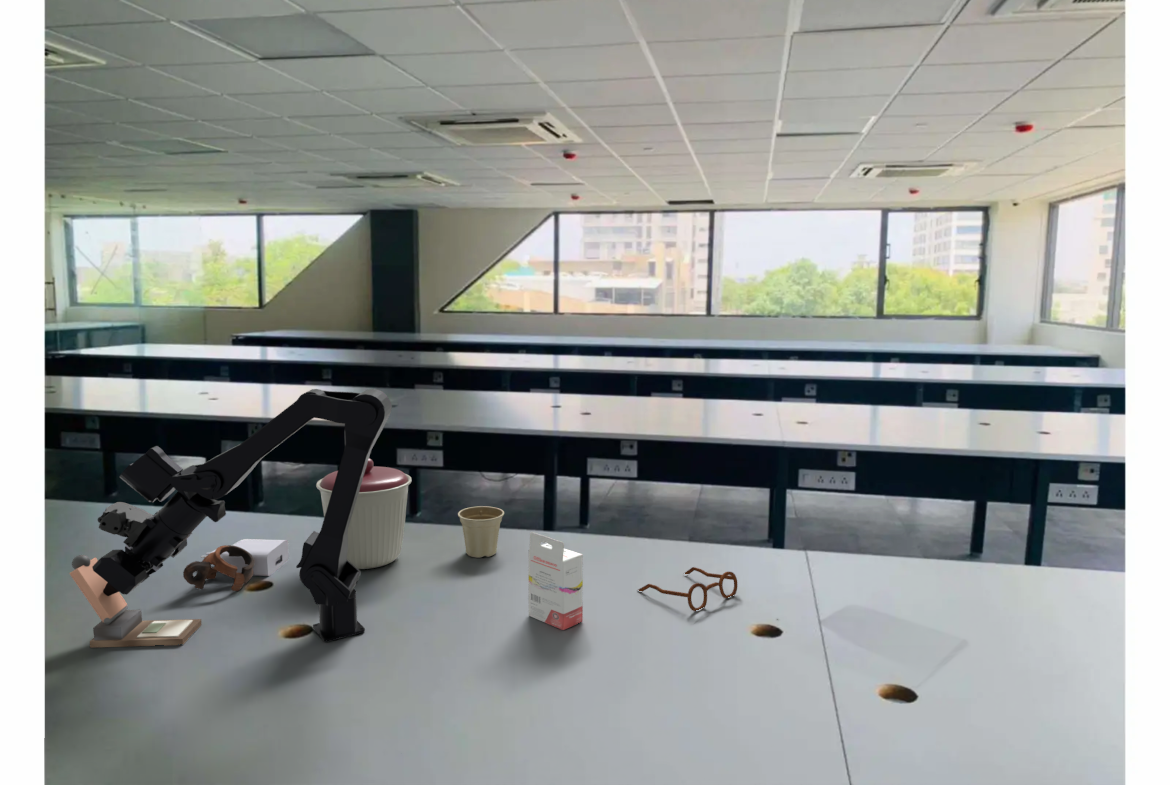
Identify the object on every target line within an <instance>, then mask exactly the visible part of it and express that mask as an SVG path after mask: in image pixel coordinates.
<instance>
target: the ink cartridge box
mask: <svg viewBox="0 0 1170 785" xmlns="http://www.w3.org/2000/svg"><path fill="white" fill-rule="evenodd" d="M541 543H543V544H541ZM528 547H529V548H528V616H529V617H531V618H534V619H536V620H538V621H540V622H543V623H545V624H547V625H549V626H552V627H554V628H557V629H559V630H561V631H565V630H567V629H569V628H572V627H574V626H575V625H578V623H579V624H580V622H581V623H583V622H584V621H583V618H584V617H583V607H584V606H583V605H584V604H583V603H584V601H583V595H584V592H583V588H584V587H583V586H584V585H583V584H584V583H583V582H584V577H583V575H584V574H583V573H584V571H583V570H584V568H583V567H584V566H583V565H584V562H583V561H584V559H583V558H584V554H583V553H579V552H576V551H573V550H572V549H571V550H570V549H567V548H565V543H564V541H561V540H557V539H554V538H552V537H549V536H546V535H544V534H540V533H537V532H533V531H530V533H529V546H528Z"/></svg>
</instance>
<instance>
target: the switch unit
mask: <svg viewBox="0 0 1170 785" xmlns="http://www.w3.org/2000/svg"><path fill="white" fill-rule="evenodd" d="M202 623H203V622H202V618H193V619H191V618H190V619H186V618H185V619H156V620H155V619H154V620H152V619H151V620H149V619H148V620H143V616H142V609H126V610H125V611H124V612H123V613H122V614H120V615H119V616H118V617H117V618H116V619H114V620H113V621H112V622H111V623H110V624H105V623H104V622H102V620H101V621H99V623H97V624H96V625H95V626H93V629H92V631H93V638H92V639H91V640H89V648H123V647H127V648H128V647H151V646H152V647H156V646H155V645H164V646H181V645H180V644H183V645H185V643H186V642H187V641H188V640H189V639H190V638H191V637H192V636H193V635H194V634H195V633H196V632H197V630H199V628H200V627H201V626H202ZM195 631H196V632H195ZM194 632H195V633H194ZM193 633H194V634H193ZM192 634H193V635H192ZM191 635H192V636H191ZM190 636H191V637H190ZM189 637H190V638H189ZM188 638H189V639H188ZM178 644H179V645H178Z"/></svg>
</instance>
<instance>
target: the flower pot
mask: <svg viewBox="0 0 1170 785" xmlns="http://www.w3.org/2000/svg"><path fill="white" fill-rule="evenodd" d="M504 515H505V511H504V510H503V509H501V508H498V507H493V506H488V505H487V506H486V505H485V506H483V505H479V506H471V507H467V508H463V509H461V510H459V511H458V512H457V516H458V518H459V521H460V523H461V527H462V532H463V533H462V534H463V538H464V544H465V545H464V546H465V552H466V554H467V556H469V557H472V558H477V559H479V558H483V557H487V558H488V557H491V556H494V555H495V554H496V553H497V550H498V543H499V542H498V541H499V535H500V534H499V533H500V527H501V522H502V521H503V517H504Z"/></svg>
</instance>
